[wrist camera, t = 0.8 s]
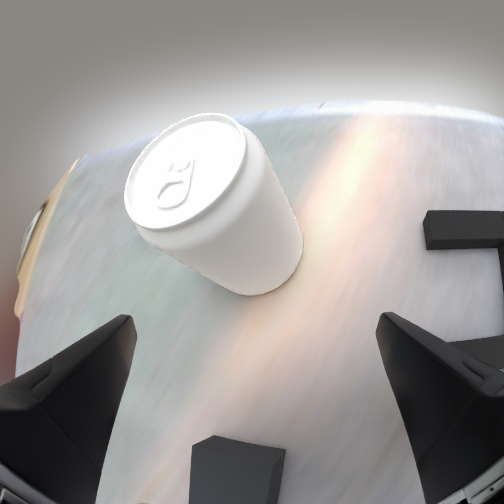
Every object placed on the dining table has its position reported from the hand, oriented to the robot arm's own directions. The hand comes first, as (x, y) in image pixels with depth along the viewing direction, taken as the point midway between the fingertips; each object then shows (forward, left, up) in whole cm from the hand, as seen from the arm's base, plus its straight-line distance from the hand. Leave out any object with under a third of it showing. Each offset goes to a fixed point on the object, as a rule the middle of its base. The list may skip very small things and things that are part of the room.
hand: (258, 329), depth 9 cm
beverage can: (+7, +5, -12) cm, 15 cm away
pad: (-12, +4, -11) cm, 17 cm away
